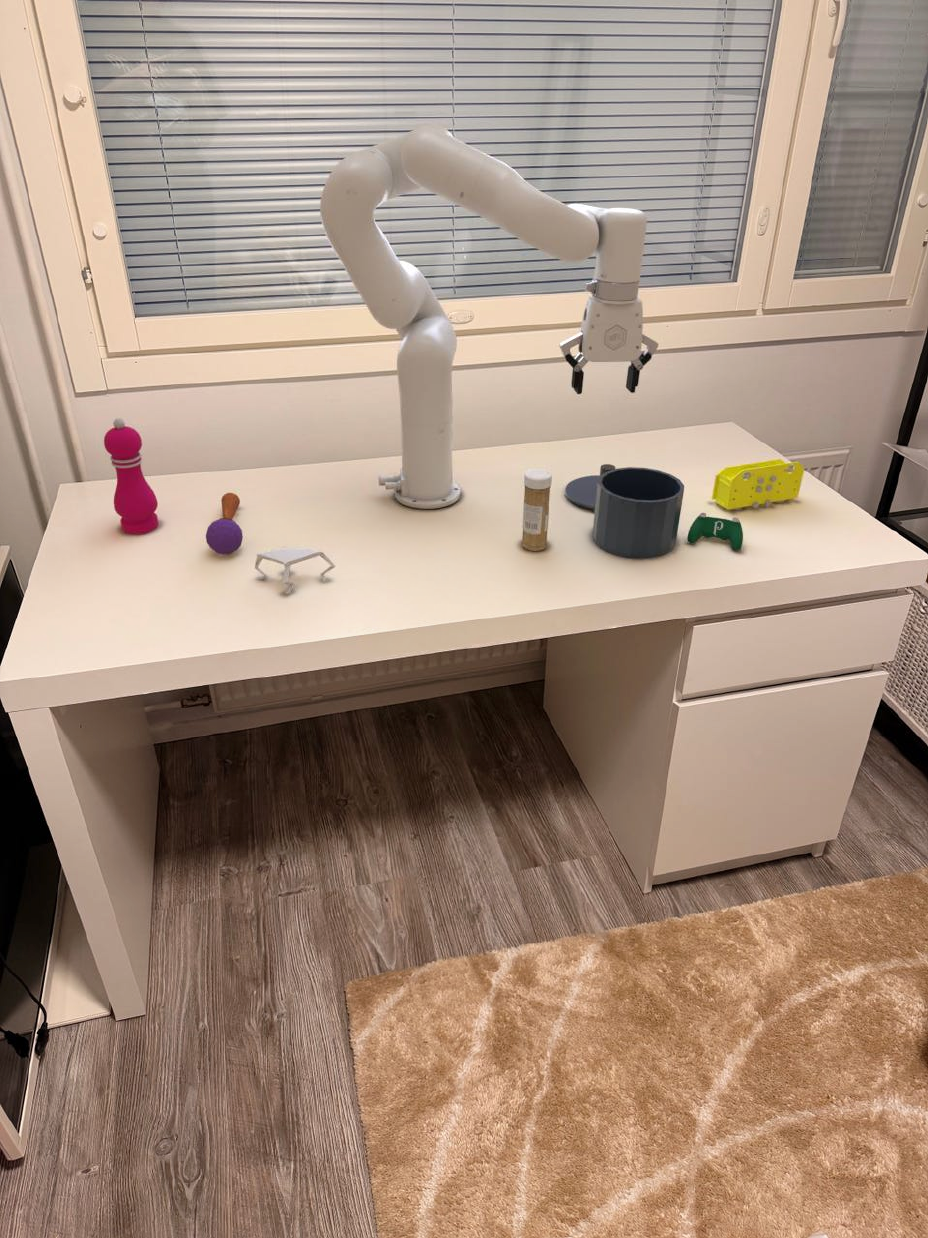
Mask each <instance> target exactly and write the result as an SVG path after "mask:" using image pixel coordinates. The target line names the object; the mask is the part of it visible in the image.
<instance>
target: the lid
mask: <svg viewBox="0 0 928 1238" xmlns="http://www.w3.org/2000/svg"><path fill="white" fill-rule="evenodd" d="M614 469H616V466H615V465H614V464H610V463H605V464H602V465H600V469H599V474H598V475H597V474H596V475H595V474H593V475H586V476H581V477H577V478H575V479H572V480H571V481H569V482H568V483H567V484H566V486H565V489H564V491H565V492H564V493H565V496H566V497H567V499H568V500H570V501H571V502H573V503H574V504H576V505H578V506H581V507H583V508H586V509H587V508H588V509H591V510H595V504H596V494H597V484H598V480H599V477H600V476H601V475H602V474H604V473H605V472H607V471H611V470H614Z"/></svg>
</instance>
